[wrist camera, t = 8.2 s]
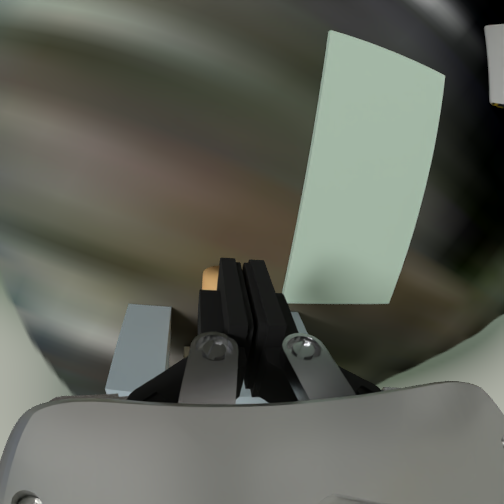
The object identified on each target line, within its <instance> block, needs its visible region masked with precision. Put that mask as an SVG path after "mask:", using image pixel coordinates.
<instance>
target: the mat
mask: <svg viewBox="0 0 504 504" xmlns="http://www.w3.org/2000/svg"><path fill="white" fill-rule="evenodd" d="M444 81H445V75H443V74H441V73H439V72H437V71H435V70H433V69H431V68H429V67H426V66H424V65H422V64H420V63H418V62H416V61H413V60H411V59H409V58H407V57H404V56H402V55H400V54H397V53H395V52H392V51H390V50H387V49H385V48H382V47H380V46H377V45H374V44H371V43H369V42H366V41H363V40H360V39H357V38H354V37H351V36H348V35H345V34H342V33H339V32H335V31H332V30H330V31H329V32H328V39H327V46H326V53H325V60H324V67H323V73H322V80H321V87H320V93H319V99H318V106H317V112H316V118H315V124H314V130H313V136H312V142H311V148H310V153H309V159H308V165H307V170H306V176H305V181H304V186H303V192H302V197H301V202H300V208H299V213H298V218H297V223H296V228H295V233H294V238H293V243H292V248H291V253H290V258H289V263H288V267H287V272H286V277H285V282H284V286H283V291H282V294H284V296H285V298H286V301H287V303H301V304H389V302H390V299H391V297H392V294H393V291H394V289H395V286H396V283H397V280H398V277H399V275H400V272H401V269H402V266H403V263H404V260H405V257H406V254H407V251H408V248H409V244H410V241H411V238H412V235H413V231H414V228H415V224H416V221H417V217H418V214H419V210H420V207H421V203H422V199H423V195H424V191H425V187H426V183H427V179H428V174H429V170H430V165H431V161H432V156H433V151H434V146H435V141H436V136H437V130H438V124H439V118H440V112H441V105H442V98H443V90H444Z"/></svg>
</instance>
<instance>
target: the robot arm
mask: <svg viewBox="0 0 504 504" xmlns="http://www.w3.org/2000/svg"><path fill="white" fill-rule="evenodd" d="M243 380H244V385H245V389H250V391H251V396H252V397H260V398H262V399H263V400H265V403H260V404H236V399H237V398H238V397H240V392H241V389H242V385H243ZM33 503H34V504H504V415H503V413H502V412H501V410H500V409H499V408H498V406H497V405H496V404H495V402H494V401H493V400H492V399H491V398H490V396H489V395H488V394H487V393H486V392H485V391H484V390H483V389H481V388H480V387H478V386H476V385H473V384H470V383H465V382H458V381H445V382H434V383H429V384H423V385H416V386H411V387H405V388H389V387H383V389H382V390H380V389H379V388H378V387H377V386H376V385H374V384H372V383H370V382H368V381H366V380H364V379H362V378H360V377H358V376H357V375H355V374H353V373H351V372H349V371H347V370H345V369H343V368H341V367H339V366H337V364H336V363H335V361H334V360H333V358H332V357H331V355H330V353H329V352H328V350H327V349H326V347H325V346H324V344H323V343H322V342H321V341H320V340H319V339H317V338H316V337H314V336H311V335H309V334H304V333H299V332H298V330H297V327H296V324H295V322H294V319H293V317H292V314H291V311H290V309H289V306H288V304H287V301H286V298H285V296H284V294H282V293H275V290H274V288H273V285H272V282H271V279H270V276H269V273H268V271H267V268H266V265H265V262H264V260H249V262H248V263H244V264H243V269H241V264H240V263H239V262H236V261H235V259H233V258H220V264H219V273H218V282H217V290H200V292H199V305H198V335H197V336H196V337H195V338H194V339H193V341H192V343H191V346H190V350H189V355H188V356H187V357H186V358H184V359H182V360H181V361H179V362H178V363H176V364H175V365H173V366H172V367H170V368H169V369H167V370H165V371H164V372H162V373H161V374H159V375H157V376H156V377H154V378H153V379H151V380H150V381H148V382H146V383H145V384H143V385H141V386H140V387H138V388H137V389H135V390H134V391H133V392H131V393H130V394H129V396H122V397H119V395H118V393H117V394H103V395H83V396H61V397H56V398H54V399H52V400H50V401H49V402H46V403H42V404H39V405H37V406H34V407H32V408H31V409H29V410H28V411H26V412H25V413H24V414H23V415H22V416H21V417H20V418H19V420H18V421H17V423H16V424H15V426H14V428H13V430H12V431H11V433H10V436H9V438H8V440H7V443H6V446H5V448H4V451H3V454H2V457H1V460H0V504H33Z"/></svg>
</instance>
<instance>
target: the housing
mask: <svg viewBox="0 0 504 504" xmlns="http://www.w3.org/2000/svg"><path fill="white" fill-rule="evenodd" d="M291 314H292V317H293V319H294V322H295V324H296V327H297V330H298V332H299V333H304V334H308V333H307V331H306V329H305V327H304V324H303V322H302V320H301V318H300V316H299V314H298V312H291ZM170 343H171V307H164V306H150V305H137V304H128V308H127V311H126V314H125V318H124V321H123V324H122V328H121V331H120V335H119V338H118V342H117V345H116V349H115V353H114V356H113V360H112V364H111V368H110V372H109V376H108V380H107V384H106V388H105V389H106V393H107V394H117V393H118V395H119V397H122V396H129V394H130V393H131V392H133V391H134V390H135V389H137V388H138V387H140V386H141V385H143V384H145V383H146V382H148V381H150V380H151V379H153V378H154V377H156V376H157V375H159V374H161V373H162V372H164V371H165V370H167V369H169V356H170ZM260 403H265V400H263V399H262V398H260V397H252V396H251V391H250V389H245V385H244V380H243V385H242V389H241V392H240V397H238V398H237V399H236V404H260Z"/></svg>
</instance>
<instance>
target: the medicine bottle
mask: <svg viewBox="0 0 504 504" xmlns="http://www.w3.org/2000/svg"><path fill="white" fill-rule="evenodd" d="M484 32H485V40H486V50H487V61H488V77H489V102H490V104H492V105H494V106H497V107H500V108H504V24H498V25H487V26H485V27H484Z"/></svg>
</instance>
